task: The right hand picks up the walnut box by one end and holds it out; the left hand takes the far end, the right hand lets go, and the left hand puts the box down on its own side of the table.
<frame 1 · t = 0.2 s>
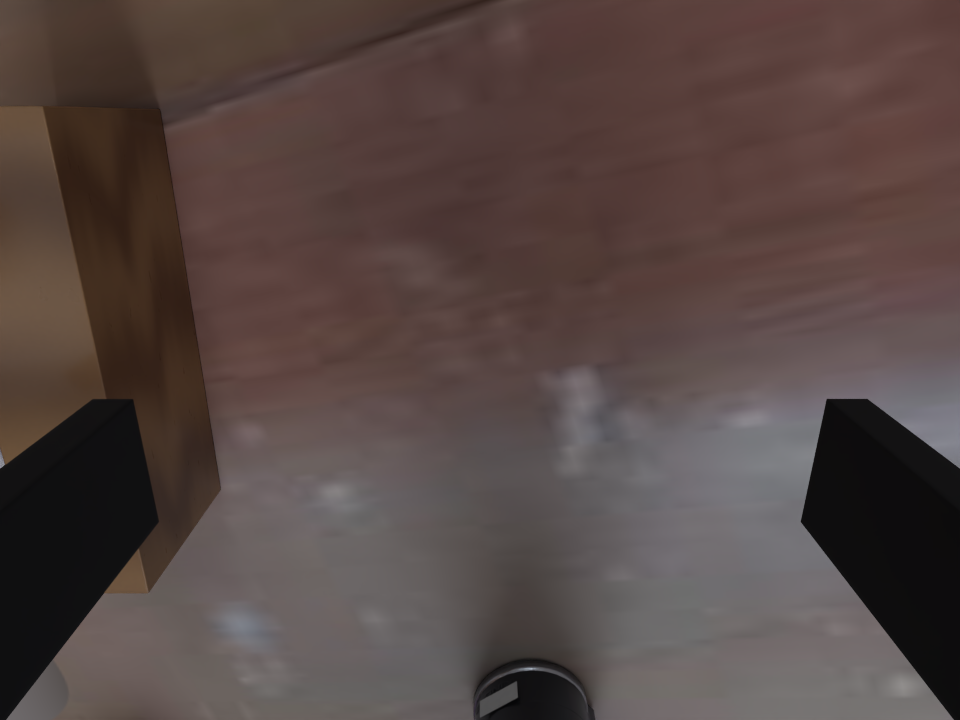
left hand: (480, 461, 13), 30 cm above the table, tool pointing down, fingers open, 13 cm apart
box: (147, 319, 43), on the table
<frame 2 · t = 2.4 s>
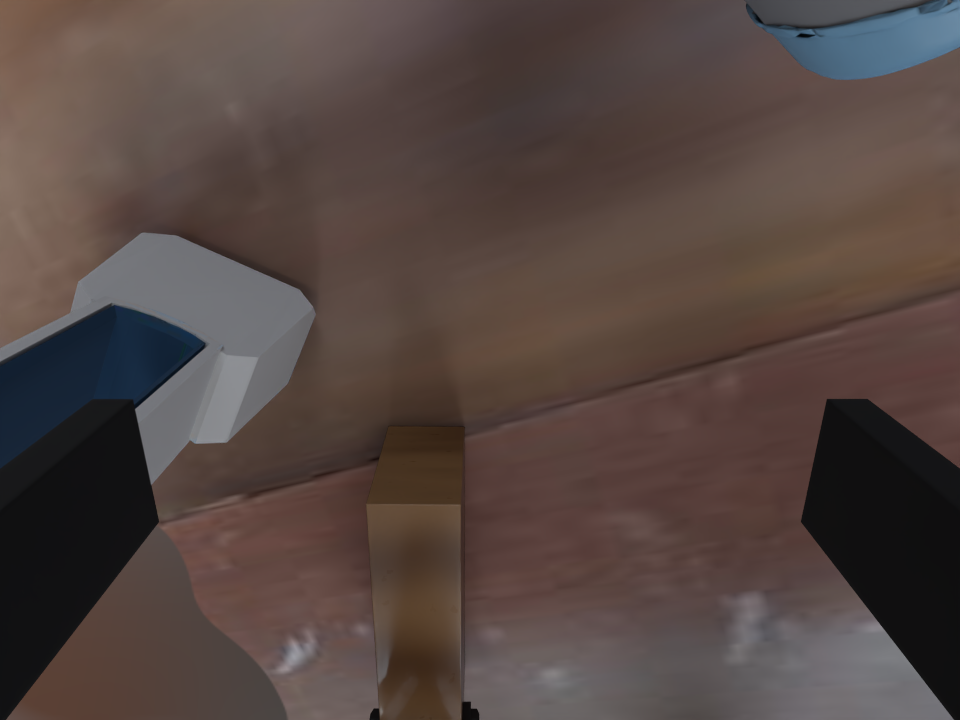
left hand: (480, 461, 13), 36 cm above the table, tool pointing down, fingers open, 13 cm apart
electronic device: (229, 303, 48), on the table
box: (429, 559, 57), on the table, touching right hand
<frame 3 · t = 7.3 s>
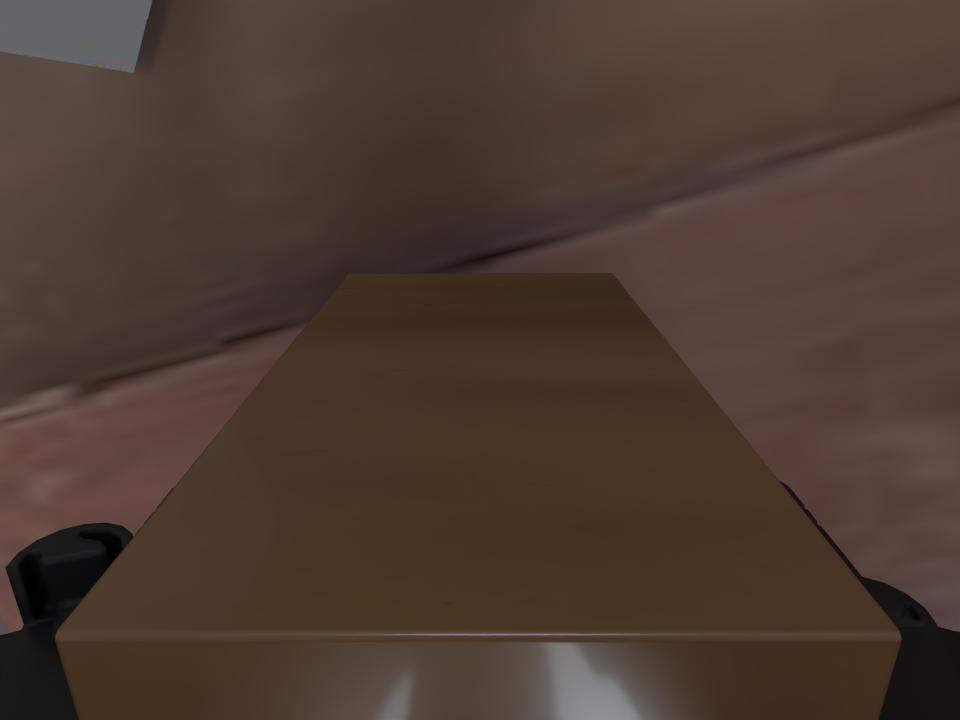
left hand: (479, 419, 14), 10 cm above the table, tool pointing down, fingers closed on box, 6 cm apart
box: (481, 695, 20), point 8 cm above the table, touching left hand, right hand
when the right hand's fingers open (15 cm above the table, at t = 8.3 s): box stays where it is, held by the left hand.
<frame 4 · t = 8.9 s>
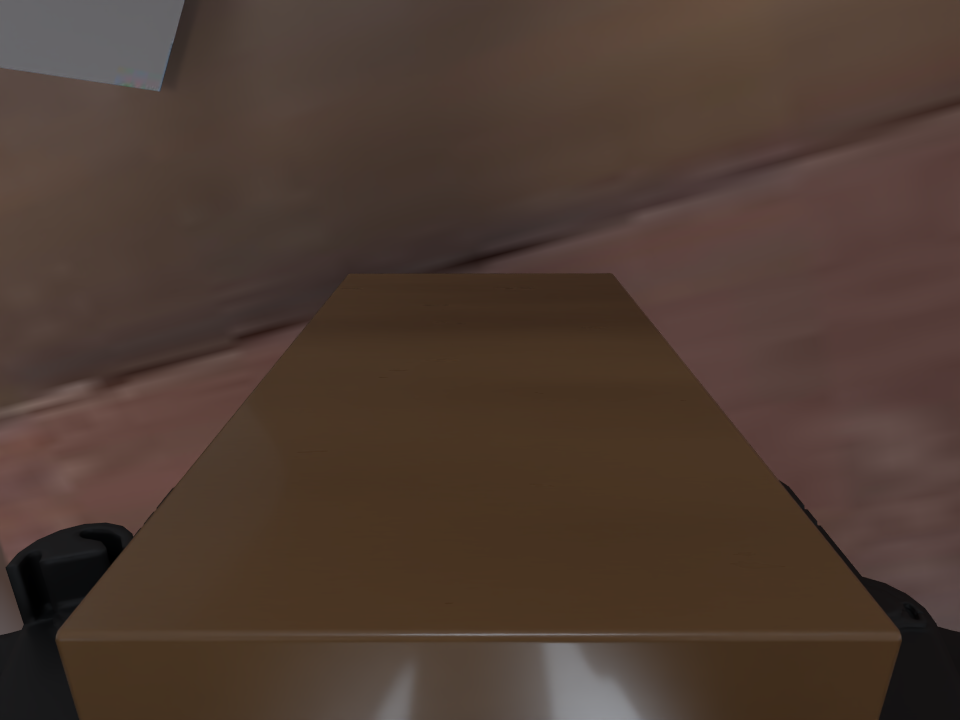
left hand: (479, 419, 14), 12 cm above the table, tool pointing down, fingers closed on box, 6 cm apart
box: (481, 695, 20), point 10 cm above the table, touching left hand
when the left hand's fingers open (3 cm above the table, at t = 17.3 s): box drops 1 cm, on the table.
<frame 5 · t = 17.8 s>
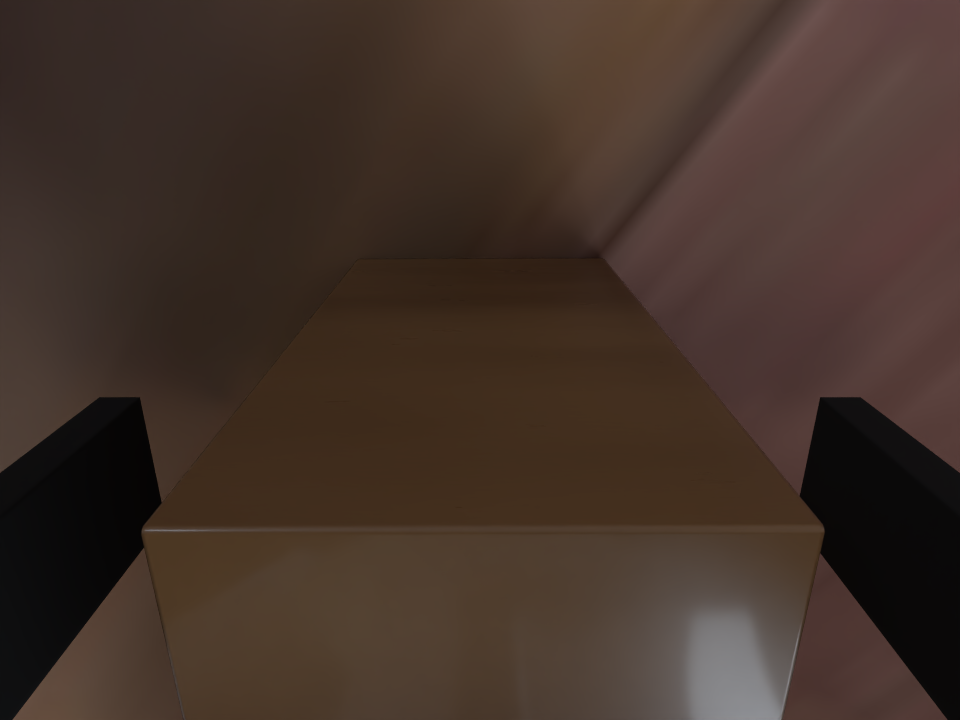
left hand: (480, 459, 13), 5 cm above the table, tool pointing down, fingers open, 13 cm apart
box: (481, 660, 21), on the table
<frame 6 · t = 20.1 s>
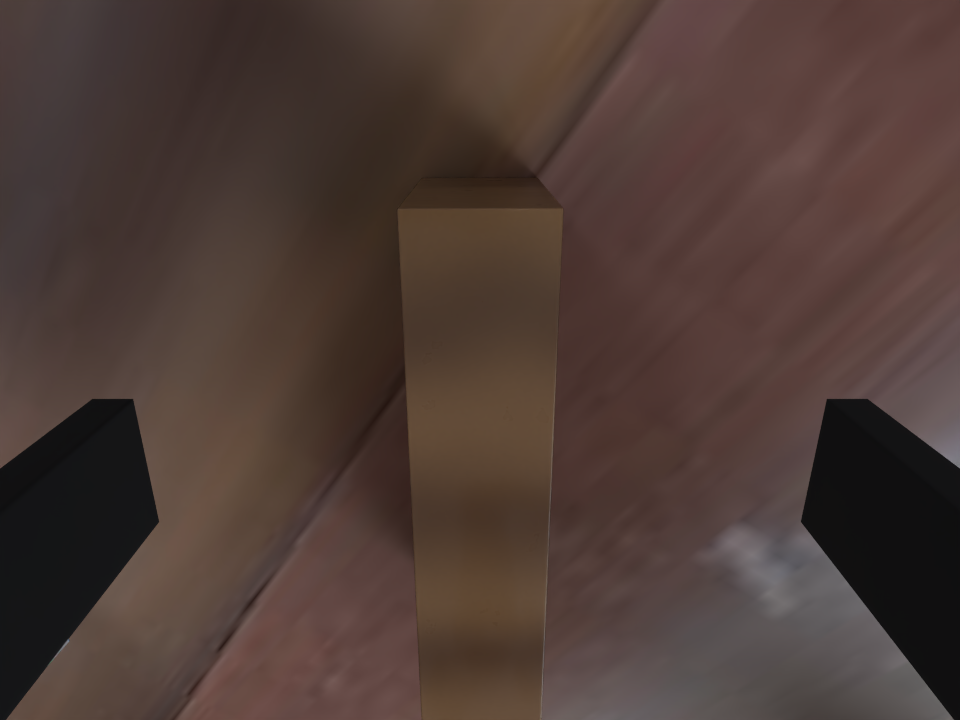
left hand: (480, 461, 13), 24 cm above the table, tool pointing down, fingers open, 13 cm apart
box: (480, 402, 39), on the table
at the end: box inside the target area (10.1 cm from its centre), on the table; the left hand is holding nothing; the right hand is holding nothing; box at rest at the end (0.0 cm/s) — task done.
